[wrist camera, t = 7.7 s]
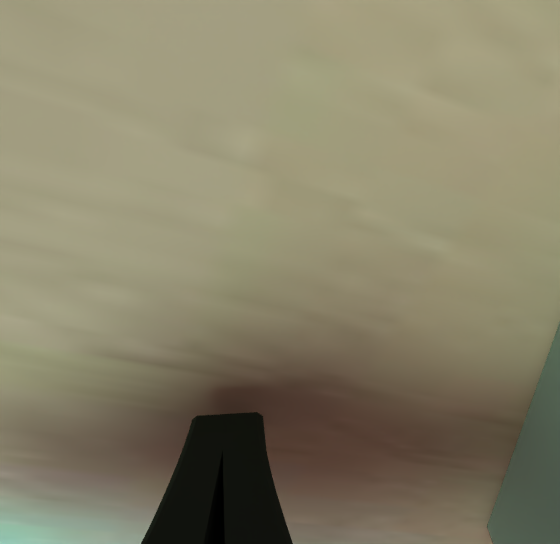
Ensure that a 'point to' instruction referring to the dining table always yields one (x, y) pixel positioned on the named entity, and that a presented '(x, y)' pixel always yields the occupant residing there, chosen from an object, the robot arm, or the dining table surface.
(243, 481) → the robot arm
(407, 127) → the dining table surface
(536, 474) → the t block
